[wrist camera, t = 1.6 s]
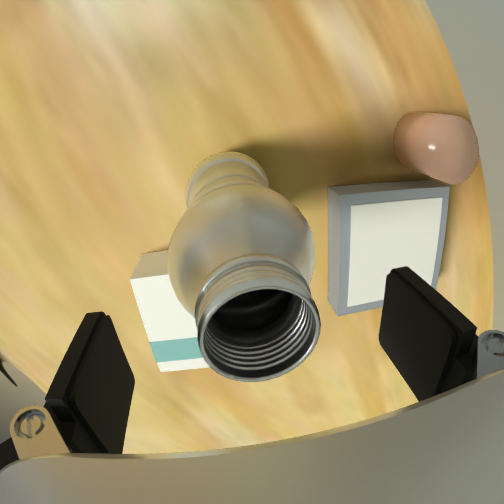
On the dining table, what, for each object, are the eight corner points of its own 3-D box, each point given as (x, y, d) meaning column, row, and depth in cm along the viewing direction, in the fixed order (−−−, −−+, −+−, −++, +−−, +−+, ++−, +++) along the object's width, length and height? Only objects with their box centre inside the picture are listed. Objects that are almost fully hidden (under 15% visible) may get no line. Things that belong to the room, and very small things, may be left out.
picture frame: (327, 186, 28) (340, 195, 25) (432, 179, 29) (450, 186, 26) (327, 300, 33) (337, 317, 30) (421, 281, 34) (435, 294, 31)
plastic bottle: (279, 175, 27) (406, 296, 9) (234, 237, 29) (277, 427, 11) (216, 133, 25) (233, 174, 7) (172, 200, 27) (113, 366, 9)
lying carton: (140, 253, 29) (129, 279, 24) (194, 246, 29) (192, 271, 25) (164, 339, 33) (160, 372, 28) (211, 334, 33) (213, 366, 29)
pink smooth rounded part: (392, 110, 26) (429, 112, 21) (439, 113, 26) (478, 118, 21) (393, 171, 29) (429, 186, 23) (439, 169, 29) (476, 183, 24)
